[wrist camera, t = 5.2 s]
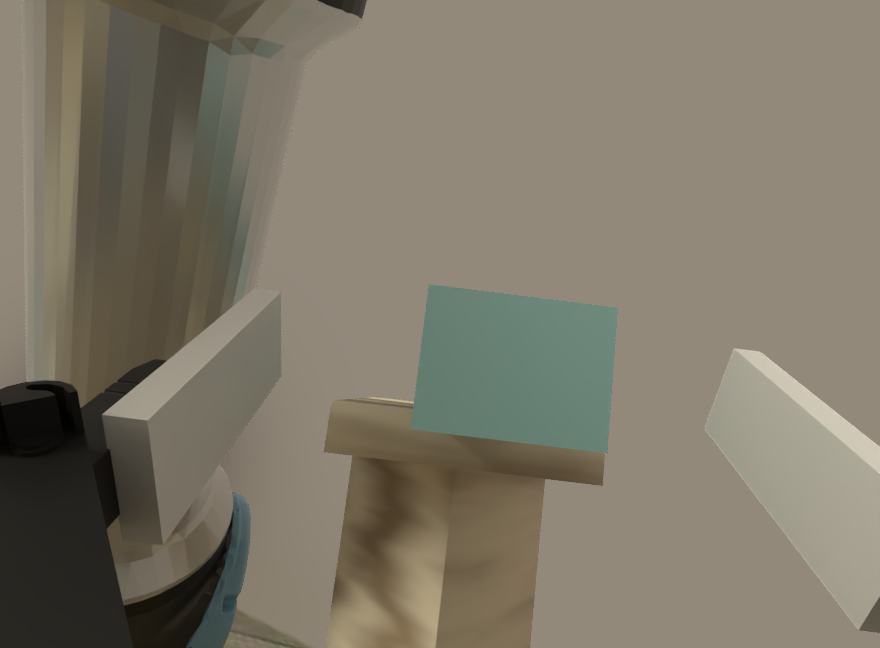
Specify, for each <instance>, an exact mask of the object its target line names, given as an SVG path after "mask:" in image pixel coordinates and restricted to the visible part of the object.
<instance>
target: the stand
mask: <svg viewBox="0 0 880 648" xmlns="http://www.w3.org/2000/svg"><path fill="white" fill-rule="evenodd" d="M413 406H414V401H406V400H397V399H389V398H381V397H371V398H358V399H346V400H334V401H331V407H330V414H329V421H328V428H327V435H326V441H325V448H324V452H328V453H336V454H344V455H352V463H351V470H350V478H349V484H348V492H347V499H346V507H345V513H344V520H343V527H342V535H341V542H340V548H339V555H338V563H337V570H336V577H335V584H334V591H333V598H332V605H331V612H330V619H329V626H328V634H327V641H326V648H530V641H531V630H532V618H533V607H534V596H535V585H536V574H537V563H538V552H539V539H540V528H541V518H542V507H543V495H544V485H545V479H551V480H559V481H568V482H576V483H585V484H592V485H601V486H603V471H604V459H605V453H601V452H593V451H585V450H576V449H568V448H560V447H552V446H544V445H535V444H527V443H519V442H511V441H502V440H494V439H486V438H478V437H469V436H461V435H453V434H445V433H436V432H428V431H420V430H412V429H411V422H412V414H413Z"/></svg>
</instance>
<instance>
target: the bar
mask: <svg viewBox="0 0 880 648" xmlns="http://www.w3.org/2000/svg"><path fill="white" fill-rule="evenodd" d="M617 314H618V308H615V307H606V306H599V305H591V304H582V303H575V302H566V301H558V300H551V299H542V298H534V297H526V296H518V295H510V294H502V293H494V292H485V291H477V290H469V289H461V288H453V287H445V286H437V285H429V288H428V296H427V304H426V312H425V320H424V327H423V335H422V344H421V352H420V359H419V367H418V375H417V383H416V391H415V399H414V406H413V414H412V422H411V429H412V430H420V431H428V432H436V433H445V434H453V435H461V436H469V437H478V438H486V439H494V440H502V441H511V442H519V443H527V444H535V445H544V446H552V447H560V448H568V449H576V450H585V451H593V452H601V453H607V450H608V435H609V422H610V409H611V395H612V382H613V367H614V355H615V340H616V328H617Z"/></svg>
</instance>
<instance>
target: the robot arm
mask: <svg viewBox="0 0 880 648" xmlns="http://www.w3.org/2000/svg"><path fill="white" fill-rule="evenodd" d="M366 1H367V0H21V13H22V14H21V18H22V21H21V22H22V98H23V168H24V169H23V171H24V173H23V174H24V244H25V245H24V251H25V323H26V325H25V327H26V382H25V383H20V384H16V385H12V386H8V387H5V388H3V389H0V648H223V646H224V644H225V642H226V640H227V637H228V635H229V632H230V629H231V626H232V623H233V620H234V617H235V613H236V603H237V600H236V599H237V597H238V595H239V593H240V592H241V589H242V585H243V581H244V577H245V572H246V566H247V559H248V553H249V544H250V520H251V519H250V509H249V505H248V502H247V501H246V499H245V498H244V497H243V496H242V495H241V494H237V493H235V492H232V489H231V485H230V482H229V479H228V477H227V476H226V473H225V471H224V470H223V469H222V467H221V466H220V463H221V462H222V460H223V459H224V457H225V456H226V455H227V453H228V451H229V450H230V449H231V447H232V446H233V445H234V443H235V442H236V440H237V439H238V437H239V436H240V435H241V433H242V432H243V430H244V429H245V427H246V426H247V425H248V423H249V422H250V420H251V419H252V417H253V416H254V415H255V413H256V412H257V410H258V409H259V408H260V406H261V405H262V403H263V402H264V400H265V399H266V398H267V396H268V394H269V393H270V392H271V390H272V389H273V387H274V386H275V385H276V383H277V382H278V380H279V379H280V377H281V292H276V291H268V290H260V289H256V286H257V281H258V277H259V272H260V268H261V264H262V259H263V255H264V250H265V246H266V242H267V237H268V233H269V228H270V224H271V219H272V215H273V210H274V206H275V202H276V197H277V193H278V188H279V184H280V179H281V175H282V171H283V166H284V162H285V157H286V153H287V148H288V143H289V139H290V135H291V131H292V126H293V121H294V117H295V113H296V108H297V104H298V100H299V95H300V91H301V86H302V82H303V77H304V73H305V69H306V64H307V62H308V61H309V60H310V59H311V58H312V57H313V56H314V55H315V54H316V53H317V51H319V50H321V49H323V48H325V47H327V46H328V45H330V44H332V43H334V42H335V41H337V40H339V39H341V38H342V37H344V36H346V35H348V34H350V33H351V32H353V31H355V30H357V29H359V28H360V24H361V21H362V16H363V13H364V9H365V4H366ZM704 430H705V431H706V432H707V434H708V435H709V436H710V437H711V439H712V440H713V441H714V443H715V444H716V445H717V447H718V448H719V449H720V450H721V452H722V453H723V454H724V456H725V457H726V458H727V460H728V461H729V462H730V464H731V465H732V466H733V467H734V469H735V470H736V471H737V473H738V474H739V475H740V477H741V478H742V479H743V480H744V482H745V483H746V484H747V486H748V487H749V488H750V490H751V491H752V492H753V494H754V495H755V496H756V497H757V499H758V500H759V501H760V503H761V504H762V505H763V507H764V508H765V509H766V510H767V512H768V513H769V514H770V516H771V517H772V518H773V520H774V521H775V522H776V523H777V525H778V526H779V527H780V529H781V530H782V531H783V533H784V534H785V535H786V537H787V538H788V539H789V540H790V542H791V543H792V544H793V545H794V547H795V548H796V550H797V551H798V552H799V553H800V555H801V556H802V557H803V559H804V560H805V561H806V562H807V564H808V565H809V566H810V568H811V569H812V570H813V572H814V573H815V574H816V576H817V577H818V578H819V579H820V581H821V582H822V583H823V585H824V586H825V587H826V589H827V590H828V591H829V593H830V594H831V595H832V596H833V598H834V599H835V600H836V602H837V603H838V604H839V605H840V607H841V608H842V609H843V611H844V612H845V613H846V615H847V616H848V617H849V619H850V620H851V621H852V623H853V624H854V625H855V626H856V628H857V629H858V630H860V631H869V632H877V633H880V447H879V446H878V445H877V444H876V443H874V442H873V441H872V440H871V439H869V438H868V437H867V436H865V435H864V434H863V433H862V432H860V431H859V430H858V429H857V428H855V427H854V426H853V425H852V424H850V423H849V422H848V421H847V420H845V419H844V418H843V417H842V416H840V415H839V414H838V413H836V412H835V411H834V410H833V409H832V408H830V407H829V406H828V405H826V404H825V403H824V402H823V401H821V400H820V399H819V398H818V397H816V396H815V395H814V394H813V393H811V392H810V391H809V390H808V389H806V388H805V387H804V386H803V385H801V384H800V383H799V382H797V381H796V380H795V379H794V378H793V377H791V376H790V375H789V374H788V373H786V372H785V371H784V370H782V369H781V368H780V367H779V366H777V365H776V364H775V363H774V362H772V361H771V360H770V359H769V358H767V357H766V356H765V355H764V354H762V353H761V352H758V351H750V350H742V349H733V352H732V355H731V358H730V360H729V363H728V365H727V368H726V371H725V373H724V376H723V379H722V381H721V384H720V387H719V389H718V392H717V395H716V397H715V400H714V403H713V405H712V408H711V411H710V413H709V416H708V419H707V422H706V424H705V427H704Z"/></svg>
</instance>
